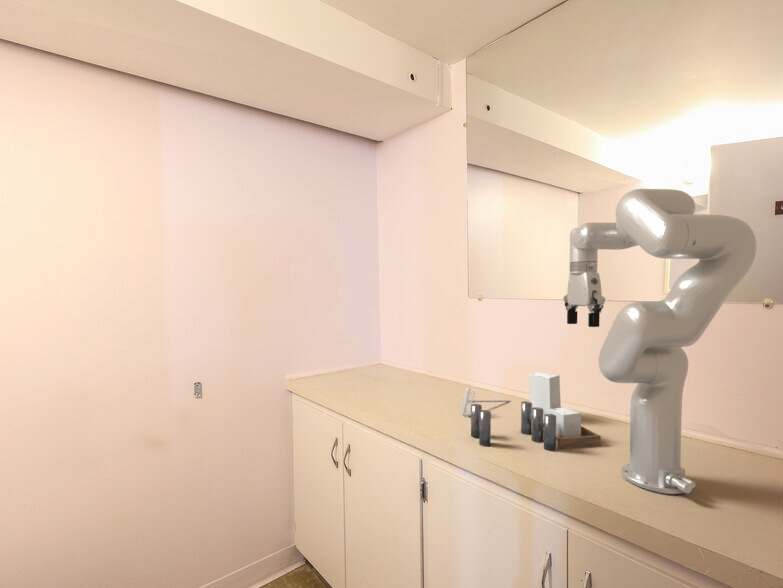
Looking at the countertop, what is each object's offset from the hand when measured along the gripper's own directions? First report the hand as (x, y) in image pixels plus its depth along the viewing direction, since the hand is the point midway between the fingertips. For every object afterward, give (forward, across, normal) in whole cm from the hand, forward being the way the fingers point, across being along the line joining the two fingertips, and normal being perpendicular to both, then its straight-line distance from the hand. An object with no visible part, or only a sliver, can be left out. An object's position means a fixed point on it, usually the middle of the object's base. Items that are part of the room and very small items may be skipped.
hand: (582, 325), depth 118 cm
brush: (+33, +26, +18) cm, 46 cm away
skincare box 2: (+32, -4, +8) cm, 33 cm away
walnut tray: (+32, -4, +8) cm, 34 cm away
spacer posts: (+32, -4, +25) cm, 41 cm away
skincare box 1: (+32, +13, +4) cm, 35 cm away
